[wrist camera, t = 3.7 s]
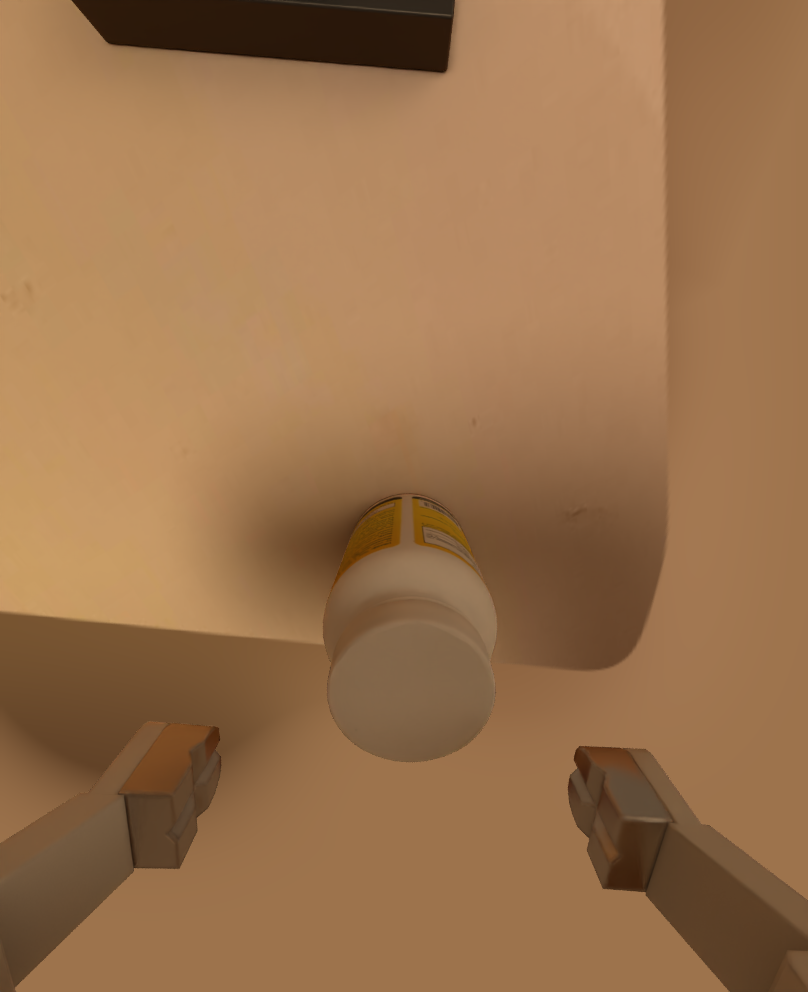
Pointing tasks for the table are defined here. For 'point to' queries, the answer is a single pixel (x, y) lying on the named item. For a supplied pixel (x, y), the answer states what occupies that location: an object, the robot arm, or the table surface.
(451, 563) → the pill bottle
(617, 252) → the table surface
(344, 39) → the scale
